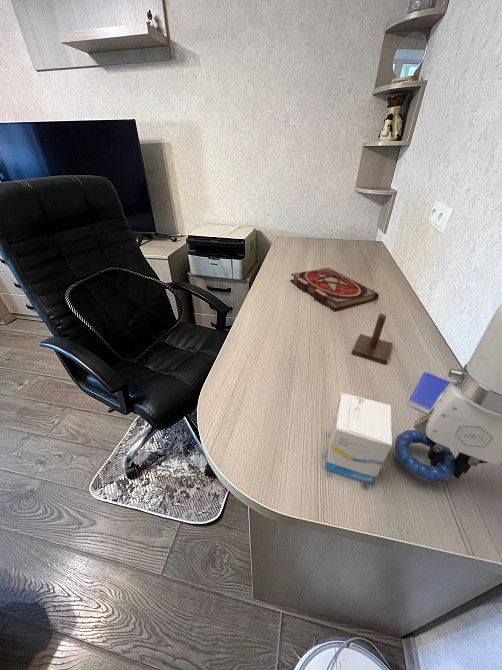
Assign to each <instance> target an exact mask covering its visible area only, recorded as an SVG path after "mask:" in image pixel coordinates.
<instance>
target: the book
mask: <svg viewBox="0 0 502 670" xmlns="http://www.w3.org/2000/svg"><path fill="white" fill-rule="evenodd" d="M290 275H291V276H292V277H293V278H292V279H290V280H289V281H290V282H291V283H292V284H294V285H295V286H296V287H297V288H299V289H300V290H302V291H303V292H304V293H307V294H309V295H310V296H312V297H313V299H315V300H316V301H318V302H319V303H320V304H322V305H324V306H327V307H328V308H329V309H331V310H332V311H334V312H336V311H340V310H343V309H344V310H345V309H348V308H351V307H354V306H359V305H362V304H367V303H370V302H374V301H377V300H378V299H379V296H380V294H379V292H376V291H374V290H373V289H370V288H369V287H367V286H365V285H364V284H361V283H359V282H357V281H355V280H353V279H351V278H349V277H347V276H346V275H344V274H341V273H340V272H338V271H336V270H334V269H332V268H330V267H323V268H318V269H311V270H307V271H300V272H295V273H294V272H293V273H290Z"/></svg>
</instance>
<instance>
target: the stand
mask: <svg viewBox="0 0 502 670" xmlns="http://www.w3.org/2000/svg"><path fill="white" fill-rule="evenodd" d="M386 319H387V315H386V314H384V313H379V314H378V316H377V320H376V322H375V323H376V324H375V326H374V330H373V333H372V336H369V335H366V334H362V333H360V334H359V335H358V338H357V340H356V341H355V344H354V346H353V348H352V350H351V355H354V356H356V357H360V358H363V359H366V360H368V361H372V362H376V363H379V364H382V365H385V366H386V365H387V363H388V360H389V357H390V354H391V350H392V347H393V342H391V341H387V340H383V339H380V337H381V335H382V332H383V329H384V325H385V321H386Z"/></svg>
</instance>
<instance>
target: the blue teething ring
mask: <svg viewBox="0 0 502 670" xmlns="http://www.w3.org/2000/svg"><path fill="white" fill-rule="evenodd" d="M412 444H421V445H424V446H426V447H428V448H430V447H431V446H432V445H431V444H430V443H429V441H428V440H427V439H426V437H425V435H422V434H421V433H420V432H418V431H417V430H416V429H407V430H404V431H403V432H401V433H400V434H398V435H397V436H396V438H395V442H394V446H393V447H394V453H396V456H397V459H398V460H399V462H400V463H401V465H403V466H404V468H406V469H407V470H408V471H409V472H410V473H412V474H413V475H415V476H417V477H420V478H421V479H424V480H426V481H429V482H445V481H447V480H448V479H449V478H451V477H452V476H453V474H454V473H455V472H456V456H455V455H454V453H453V452H452V449H451V448H448V447H444V449H443V457H442V459H441V460H440V462H439V464H438V465H437V466H430V465H428V464H425V463H423V462H421V461H420V460H418V459H417V458H416V457H415V456H414V455H413V454H412V452H411V451H410V445H412Z"/></svg>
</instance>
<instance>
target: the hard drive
mask: <svg viewBox="0 0 502 670" xmlns="http://www.w3.org/2000/svg"><path fill="white" fill-rule="evenodd" d="M451 382H452V381H449V380H447V379H444V378H443V377H442V378H441V377H439V376H437V375H434V374H433V373H430V372H426V371H424V372H423V374H422V376H421V377H420V379H419V381H418V383H417V385H416V387H415V389H414V391H413V392H412V394H411V396H410V398H409V400H408V402H407V405H408V406H410V407H411V408H413V409H415V410H418V411H420V412H422V413H424V414H426V415H427V414H429V411H430V409H431V408H432V406H433V404H434V403H435V401H436V400H437V398H438V397H439V395H440V394H441V393H442V392H443V390H444V389H445V388H446V387H447V386H448V385H449V384H450V383H451Z"/></svg>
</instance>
